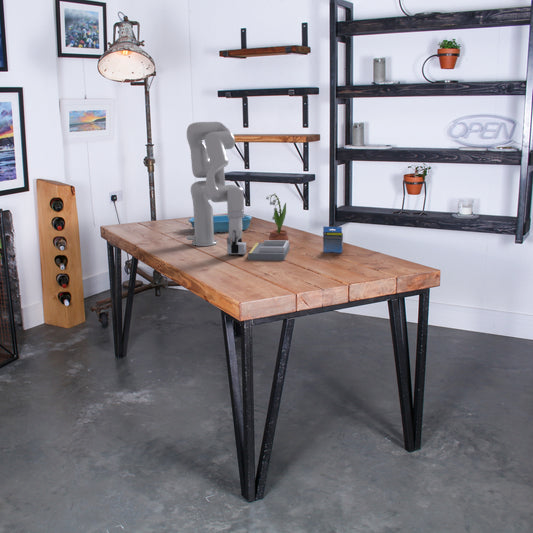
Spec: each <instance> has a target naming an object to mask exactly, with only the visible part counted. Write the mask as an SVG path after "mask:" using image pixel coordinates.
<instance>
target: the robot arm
mask: <svg viewBox="0 0 533 533" xmlns="http://www.w3.org/2000/svg"><path fill="white" fill-rule="evenodd" d="M186 140H187V142H188V145H189V149H190V150H189V151H190V158H191V162H190V163H191V170H192V171H191V172H192V174H193V176H194V177H195V178H197V179H205V180H198V181H195V182H193V183H192V184H191V186H190V194H191V199H192V206H193V218H194V228H193V229H194V234H193V235H186V240H188V241H192V242H191V245H193V246H195V245H196V246H197V247H209V246H210V247H211V246H215V245H217V244H218V240H217V239H215V237H214V236H215V235H214V234H215V233H214V228H213V216H214V208H213V206H212V205H211V203H210V202H209V200H210V201H211V202H212V203H225V202H226V205H227V206H226V207H227V215H228V218H229V232H228V236H229V239H230V240H231V253H238V242H243V238H242V237H243V231H242V218H244V215H245V202H244V200H245V199H244V198H245V197H244V189H243V187H241V186H237V185H235V184H227V185H226V178H225V168H226V167H227V166H228V165H229V159H228V154H227V150H231V149H233V148H234V147H235V145H236V144H235V143H236V139H235V136H234V134H233V133H232V130H230V129H229V128H228V127H227V126H226V125H225V124H223V123H222V122H219V121H199V122H196V121H195V122H193V123H190V124H189V125H188V126H187V129H186Z"/></svg>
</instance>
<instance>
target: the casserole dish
mask: <svg viewBox="0 0 533 533" xmlns="http://www.w3.org/2000/svg"><path fill="white" fill-rule="evenodd" d="M252 219H253V216H252V215H247V214H246V215H245V214H244V218H242V230H243V231H247V229H249V227H250V224H251V222H252V221H251V220H252ZM187 221H188V222H189V223H190V224H191V226H192V227H191V228H192V229H194V217H191V218H189V219H188V220H187ZM213 228H214V234H217V232H220V233H229V218H228V214H222V215H213Z"/></svg>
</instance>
